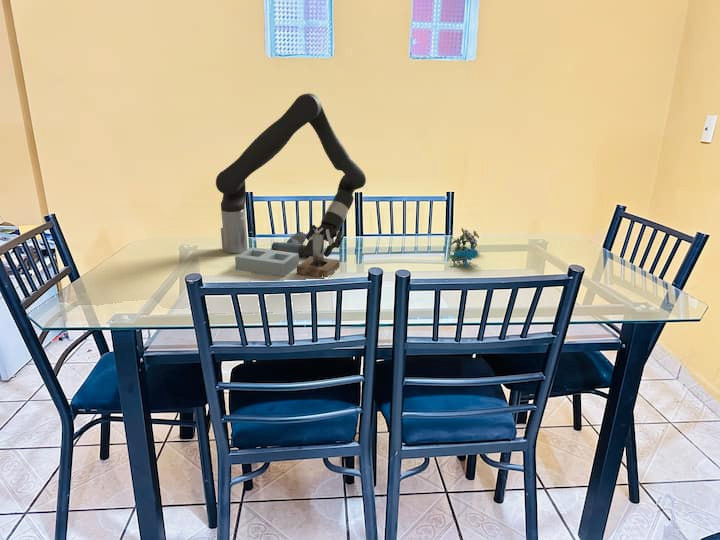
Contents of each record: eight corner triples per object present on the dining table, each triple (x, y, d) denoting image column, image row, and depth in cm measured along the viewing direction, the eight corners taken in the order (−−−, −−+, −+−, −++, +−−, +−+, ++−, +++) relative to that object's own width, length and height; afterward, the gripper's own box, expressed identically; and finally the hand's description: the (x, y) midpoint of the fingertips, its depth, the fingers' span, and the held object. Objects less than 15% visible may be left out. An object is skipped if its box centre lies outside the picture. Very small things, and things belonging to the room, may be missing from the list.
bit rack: (235, 269, 182) (234, 256, 180) (252, 259, 192) (252, 247, 191) (284, 276, 176) (283, 263, 174) (299, 265, 186) (298, 253, 185)
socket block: (296, 274, 178) (296, 266, 177) (310, 263, 189) (310, 256, 188) (327, 278, 175) (327, 271, 174) (339, 267, 185) (339, 260, 184)
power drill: (329, 245, 212) (315, 260, 194) (288, 241, 215) (271, 256, 197) (329, 233, 210) (315, 247, 192) (288, 230, 214) (270, 243, 195)
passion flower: (471, 263, 208) (482, 246, 199) (447, 258, 208) (456, 241, 198) (471, 242, 215) (481, 225, 205) (447, 237, 214) (456, 220, 204)
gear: (476, 257, 195) (478, 245, 186) (478, 270, 192) (481, 259, 183) (448, 259, 196) (449, 248, 187) (450, 273, 193) (451, 262, 184)
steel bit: (311, 272, 181) (310, 235, 176) (315, 268, 184) (315, 232, 179) (321, 273, 179) (321, 236, 174) (325, 269, 183) (325, 233, 178)
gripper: (315, 207, 184) (296, 244, 179) (346, 213, 176) (327, 252, 172) (324, 218, 190) (306, 254, 185) (354, 224, 182) (336, 262, 178)
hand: (316, 253), depth 178 cm, fingers open, 8 cm apart
